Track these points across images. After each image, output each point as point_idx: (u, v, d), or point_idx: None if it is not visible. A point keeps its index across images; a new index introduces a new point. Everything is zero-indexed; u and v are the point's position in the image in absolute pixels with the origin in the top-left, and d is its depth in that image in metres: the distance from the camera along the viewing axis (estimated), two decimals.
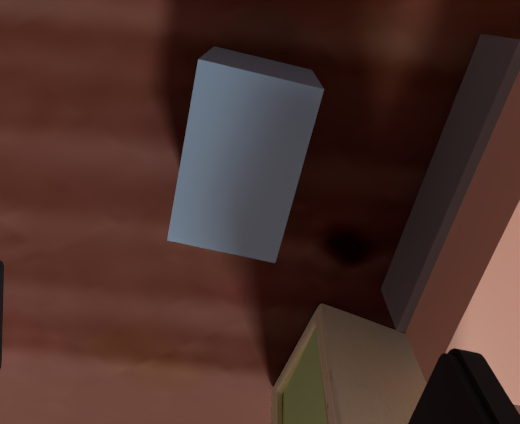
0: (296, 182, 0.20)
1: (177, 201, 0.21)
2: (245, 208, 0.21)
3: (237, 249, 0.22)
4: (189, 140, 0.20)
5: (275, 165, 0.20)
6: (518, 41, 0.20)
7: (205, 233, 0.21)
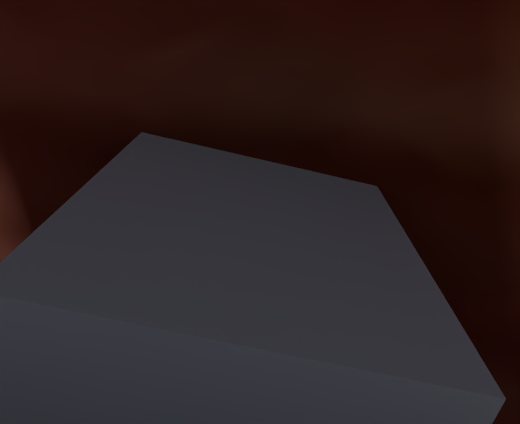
0: None
1: None
2: None
3: None
4: None
5: None
6: None
7: None
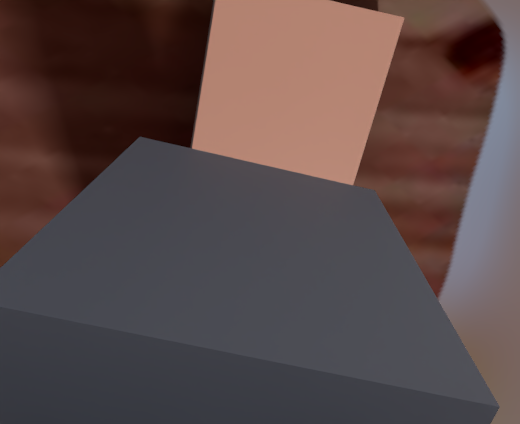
0: None
1: None
2: None
3: None
4: None
5: None
6: None
7: None
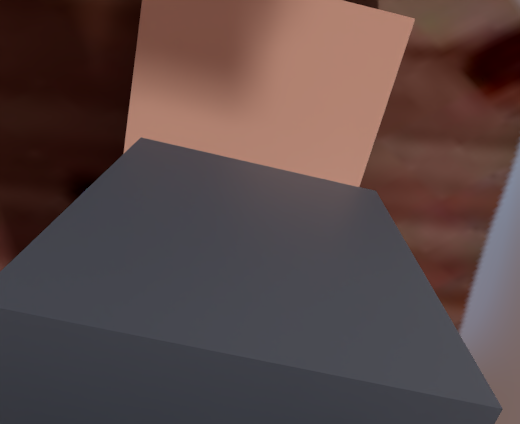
0: None
1: None
2: None
3: None
4: None
5: None
6: None
7: None
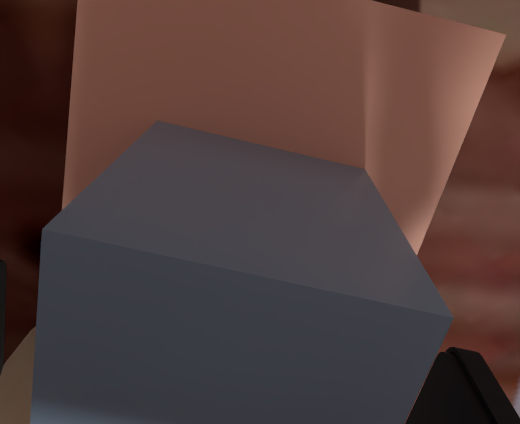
0: None
1: None
2: None
3: None
4: None
5: None
6: None
7: None
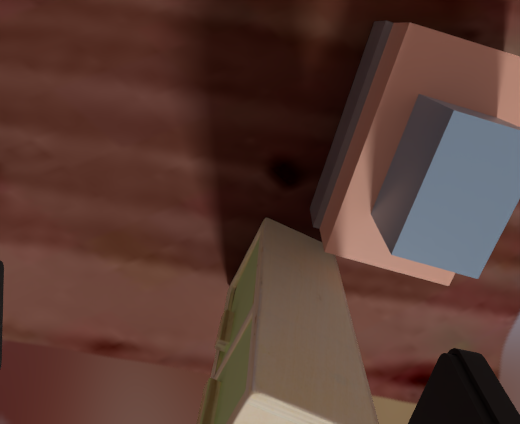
0: (511, 212, 0.24)
1: (407, 222, 0.25)
2: (463, 232, 0.25)
3: (448, 265, 0.26)
4: (430, 173, 0.24)
5: (496, 198, 0.24)
6: (385, 22, 0.31)
7: (425, 251, 0.25)
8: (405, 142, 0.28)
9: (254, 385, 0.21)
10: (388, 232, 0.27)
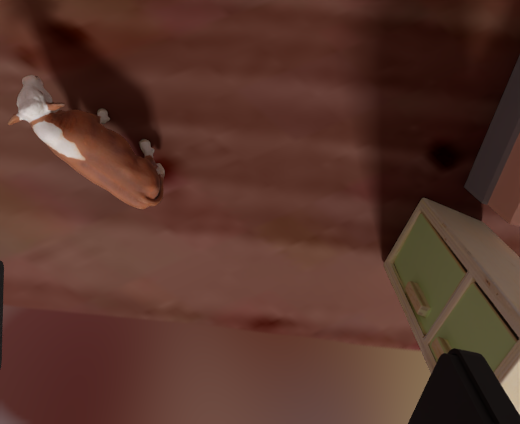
0: None
1: None
2: None
3: None
4: None
5: None
6: None
7: None
8: None
9: None
10: None
